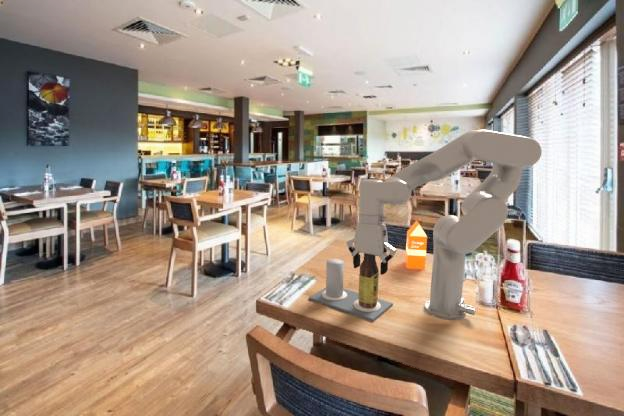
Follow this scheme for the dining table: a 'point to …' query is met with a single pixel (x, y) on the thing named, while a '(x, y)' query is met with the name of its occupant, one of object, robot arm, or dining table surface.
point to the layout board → (345, 294)
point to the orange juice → (416, 247)
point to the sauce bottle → (368, 282)
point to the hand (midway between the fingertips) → (369, 270)
